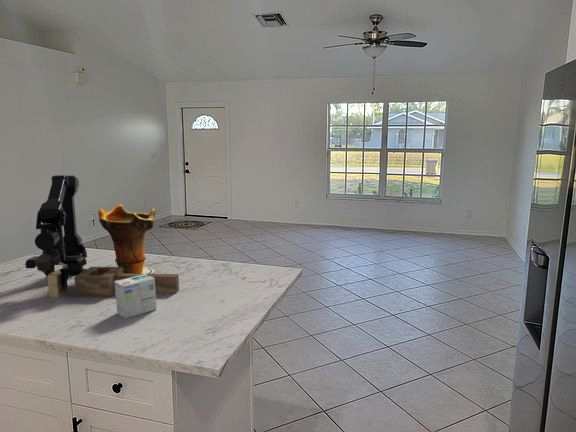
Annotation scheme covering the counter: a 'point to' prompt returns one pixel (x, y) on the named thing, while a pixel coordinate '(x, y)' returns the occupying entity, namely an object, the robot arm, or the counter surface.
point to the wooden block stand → (103, 278)
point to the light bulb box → (135, 295)
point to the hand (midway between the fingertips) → (58, 285)
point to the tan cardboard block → (56, 284)
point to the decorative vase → (128, 237)
